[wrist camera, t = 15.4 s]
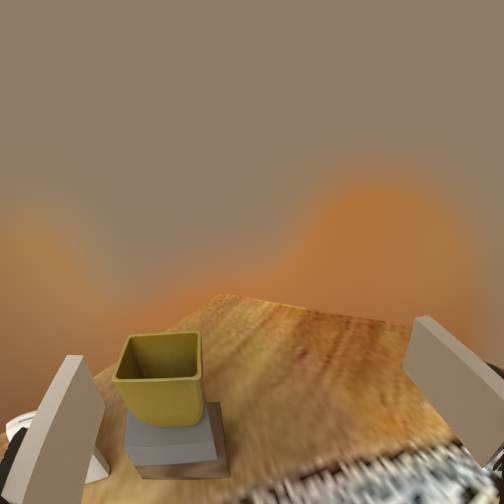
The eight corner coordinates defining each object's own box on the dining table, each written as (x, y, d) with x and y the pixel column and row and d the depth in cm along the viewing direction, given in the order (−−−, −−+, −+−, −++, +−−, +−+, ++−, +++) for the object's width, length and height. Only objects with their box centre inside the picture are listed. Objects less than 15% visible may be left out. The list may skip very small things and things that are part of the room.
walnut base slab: (222, 419, 39) (219, 401, 38) (229, 479, 28) (226, 464, 27) (149, 422, 37) (143, 404, 36) (143, 480, 27) (133, 465, 26)
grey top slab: (206, 403, 37) (202, 383, 36) (217, 459, 28) (213, 441, 27) (136, 409, 35) (129, 390, 34) (134, 465, 26) (123, 447, 25)
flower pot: (144, 389, 34) (127, 332, 32) (210, 386, 35) (201, 328, 33) (135, 439, 26) (109, 380, 23) (213, 437, 27) (201, 378, 24)
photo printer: (49, 494, 20) (-2, 436, 17) (44, 470, 24) (-1, 410, 20) (115, 478, 26) (76, 419, 22) (105, 456, 29) (70, 394, 26)
